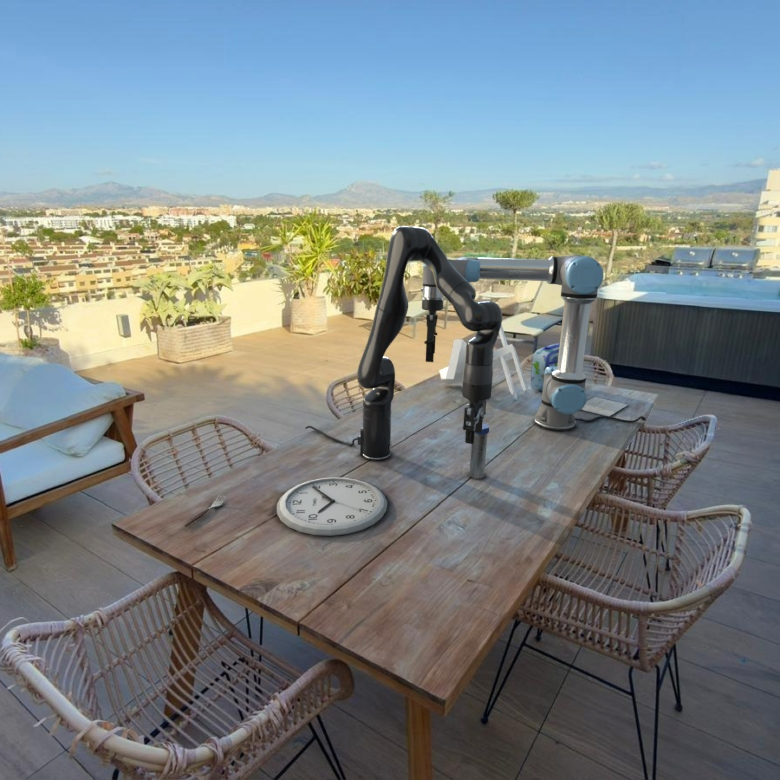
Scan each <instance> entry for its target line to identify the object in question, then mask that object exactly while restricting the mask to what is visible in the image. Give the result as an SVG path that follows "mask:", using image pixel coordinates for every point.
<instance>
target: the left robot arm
mask: <svg viewBox="0 0 780 780" xmlns="http://www.w3.org/2000/svg"><path fill="white" fill-rule="evenodd" d="M448 259H449V258H448V257H447V256H446V253H444V251H443V250H442V248H441V246H439V244H438V242H437V241H436V239H435V238H434V236H433V235H432V234H431V232H429V230H428V229H426V228H424V227H420V226H410V225H409V226H408V225H407V226H406V225H405V226H404V225H401V226H398V227H396V228H395V229H394V230H393V232H392V233H391V236H390V239H389V243H388V249H387V255H386V261H385V267H384V268H385V269H384V274H383V279H382V283H381V288H380V292H379V296H378V299H377V304H376V306H375V311H374V315H373V319H372V324H371V326H370V327H371V328H370V332H369V334H368V338H367V342H366V345H365V348H364V349H363V352H362V355H361V358H360V360H359V364H358V366H357V380H358V384H359V385H360V387H362V388H364V389H366V390H370V391H369V392H368V393H367V394H366V395H365V396H364V397H363V398H362V427H361V428H360V429H359V432H360V433H359V435H358V436H357V437H354V438H353V439H352V441H351V443H346V442H343V441H341V440H339V439H337V438H335V437H333V436H331V435H328V434H327V433H325V432H323V431H322V430H319V429H317V428H316V427H314V426H311V425H307V426H305V427H304V429H305V430H308V429H312V430H313V431H315V432H318V433H320V434H321V435H323V436H324V437H327V438H328V439H330V440H332V441H334V442H336V443H339V444H344V445H347V446H351V447H352V446H354V445H355V441H357V446H359V455H360V456H361V457H363V458H365V459H367V460H370V461H384V460H387V459H388V458H390V457H391V456H392V455H391V454H392V453H391V449H392V444H391V439H392V438H391V433H392V432H391V431H392V402H393V400H394V396H395V384H396V369H395V365H394V363H393V361H392V360H391V359H390V358H389V357H387V356H385V353H386V351H387V350H388V349H389V347H390V346H391V345H392V343H393V342H394V341H395V340H396V338H397V337H398V335H399V334H400V332H401V331H402V329H403V327H404V324H405V320H406V318H407V315H408V312H409V311H408V310H409V299H408V295H407V291H406V289H405V288H406V287H405V282H404V281H405V280H404V279H405V274H406V269H407V266H408V263H409V262H420V263H422V264H423V263H424V264H425V265H426V266H428V267H429V268H430V269H431V271H432V272H433V275H434V280H435V284H436V286H437V288H438V290H439V291H440V293H441V294H442V295H443V296H444V297H443V298H445V300H446V301H447V302H449V304H450V305H452V308H453V310H454V312H455V314H456V317H457V318H458V320H459V322H460V323H461V325H462V326H463V327H464V328H465V329H467V330H468V331H470V332H476V334H475V335H474V337H473V338H471V339H469V340H468V341H467V342H466V344H467V345H466V354H465V366H464V371H463V383H462V388H461V389H462V390H461V395H462V398H465V399H467V400H468V401H469V402H468V403H467V404H466V406H465V407H464V409H463V410H464V411H463V423H462V429H463V430H464V431H465V438H464V442H465V444H468V445H472V444H473V443H474V435H475V432H477V433H481V432H482V424H483V423H484V422H483V421H484V419H485V416H486V414H487V400H489V399H490V398H492V392H493V391H492V390H493V389H492V388H493V377H494V370H493V350H495V345H496V343H497V340H498V337H499V331H500V328H501V324H502V322H503V313H502V309H501V307H500V305H499V304H498V303H497V302H495V301H490V300H489V301H480V302H477V301H475V299H476V297H477V292H476V289H475V288H474V286H473V285H472V284H471V282H470V283H469V282H468V281H467V280H466V279H465V278H464V277H463V276H462V275H461V274H460V273H459V272H458V271H457V270H456V269H455V268H454V267H453V265H452V264H451V263H450V261H449V260H448ZM469 423H470V424H469Z"/></svg>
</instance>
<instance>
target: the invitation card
mask: <svg viewBox="0 0 780 780" xmlns="http://www.w3.org/2000/svg"><path fill="white" fill-rule="evenodd" d="M628 406H629V404H627V403H623V402H618V401H614V400H609V399H605V398H601V397H596V396H593V397H592V398H590V399H587V401H586V404H585V406H584V407H583V408H582V409H581V410H580V411H584V412H587V413H593V414H596V415H600V416H609V417H612V416H613V415H614V414H616V413H617V412H619V411H621V410H623V409H624V408H626V407H628Z"/></svg>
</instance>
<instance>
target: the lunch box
mask: <svg viewBox="0 0 780 780" xmlns="http://www.w3.org/2000/svg"><path fill="white" fill-rule="evenodd" d="M559 346H560V343H553V344H550V345H547V346H546V345H545V346H544V347H541V348H538V349H537V350H536V351H535V352H534V354H533V357H532V362H531V371H530V372H531V374H530V387H531V389H533V390H539V391H543V382H544V373H545V369H546V368H547V367H553V366H557V364H558V355H559Z"/></svg>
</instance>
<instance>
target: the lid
mask: <svg viewBox="0 0 780 780" xmlns="http://www.w3.org/2000/svg"><path fill="white" fill-rule="evenodd" d="M489 433H490V425H489V424H487V423H484V422H483V424H482V432H481V433H477V432H475V434H479V435H484V434H487V435H488V434H489Z"/></svg>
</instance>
